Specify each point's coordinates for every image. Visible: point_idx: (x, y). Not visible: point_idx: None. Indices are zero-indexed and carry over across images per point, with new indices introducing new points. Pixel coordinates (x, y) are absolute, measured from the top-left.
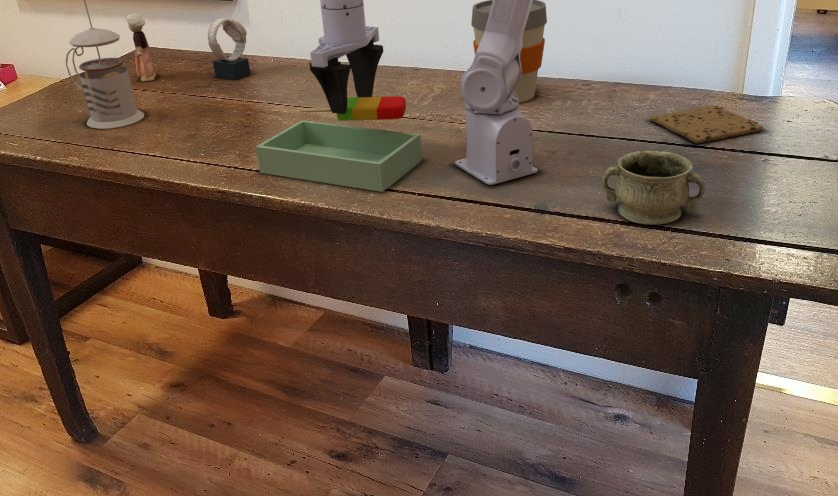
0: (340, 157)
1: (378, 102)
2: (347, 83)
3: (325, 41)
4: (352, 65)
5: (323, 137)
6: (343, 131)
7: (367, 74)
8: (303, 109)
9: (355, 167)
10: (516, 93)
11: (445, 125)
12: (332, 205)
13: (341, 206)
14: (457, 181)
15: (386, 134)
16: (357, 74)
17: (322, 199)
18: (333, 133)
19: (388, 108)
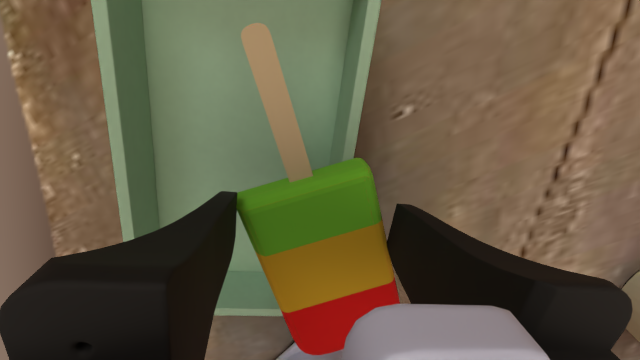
0: (126, 224)
1: (330, 298)
2: (206, 341)
3: None
4: (463, 265)
5: (350, 47)
6: (344, 124)
7: (424, 302)
8: (255, 36)
9: None
10: (630, 329)
11: (508, 247)
12: (54, 213)
13: (60, 231)
14: (249, 348)
15: None
16: (435, 259)
17: (68, 181)
18: (347, 87)
19: (292, 334)
